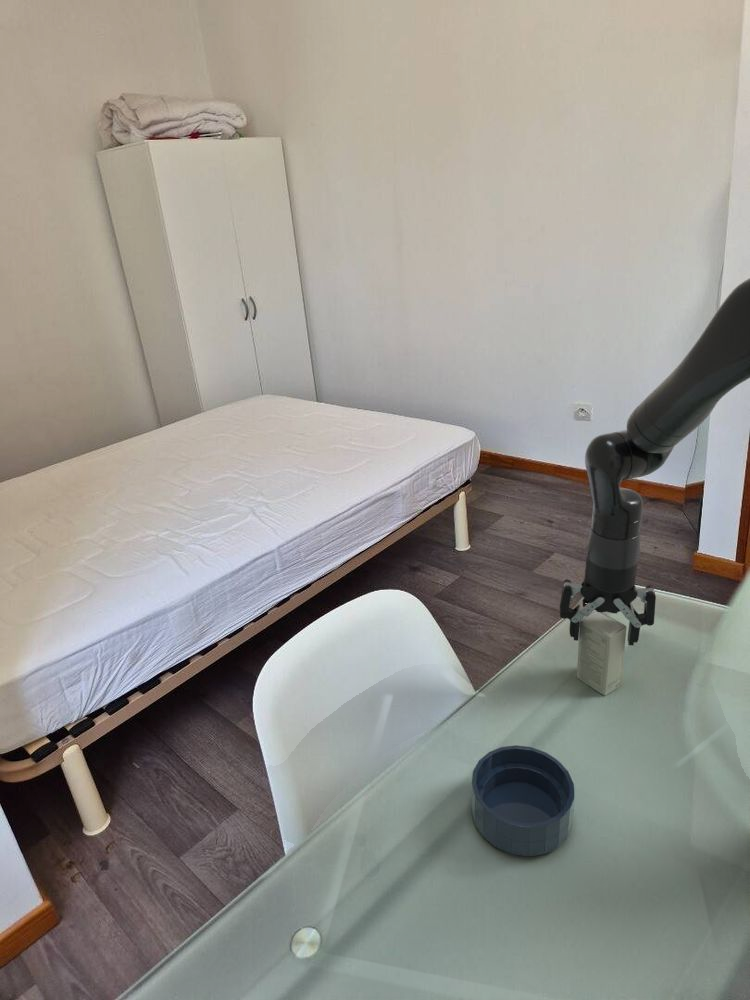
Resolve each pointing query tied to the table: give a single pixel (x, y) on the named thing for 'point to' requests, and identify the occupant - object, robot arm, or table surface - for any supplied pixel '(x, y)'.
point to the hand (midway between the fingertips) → (602, 640)
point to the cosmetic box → (601, 652)
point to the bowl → (522, 800)
